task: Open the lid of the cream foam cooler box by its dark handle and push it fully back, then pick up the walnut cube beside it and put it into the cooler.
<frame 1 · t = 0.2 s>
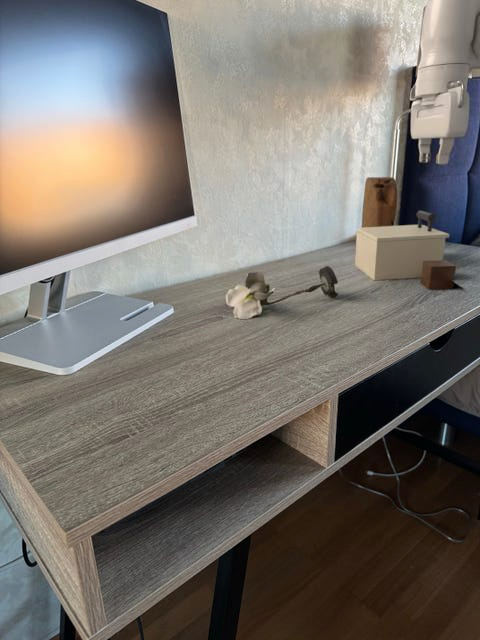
hand: (432, 163, 89), 25 cm above the table, tool pointing down, fingers open, 8 cm apart
artificial flower: (284, 307, 87), on the table
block: (376, 247, 133), on the table
cooler: (395, 270, 107), on the table
lid: (401, 223, 103), point 11 cm above the table, hinge at 0.0°
cube: (436, 286, 95), on the table
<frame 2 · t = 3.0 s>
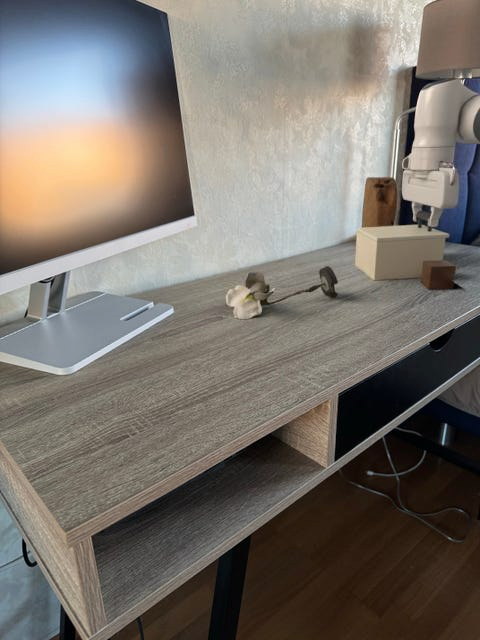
hand: (424, 223, 104), 11 cm above the table, tool pointing down, fingers closed on lid, 6 cm apart
lid: (401, 223, 103), point 11 cm above the table, hinge at 0.0°, touching gripper
everything else where it was.
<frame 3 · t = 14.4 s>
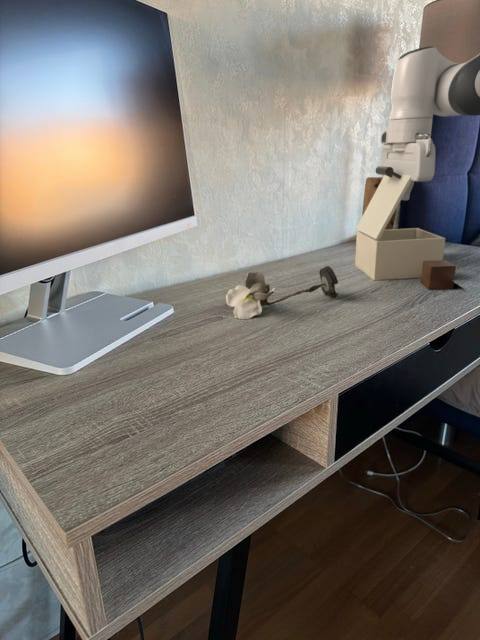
hand: (402, 199, 101), 17 cm above the table, tool pointing down, fingers closed
lid: (376, 197, 101), point 17 cm above the table, hinge at 63.2°
everything else where it was.
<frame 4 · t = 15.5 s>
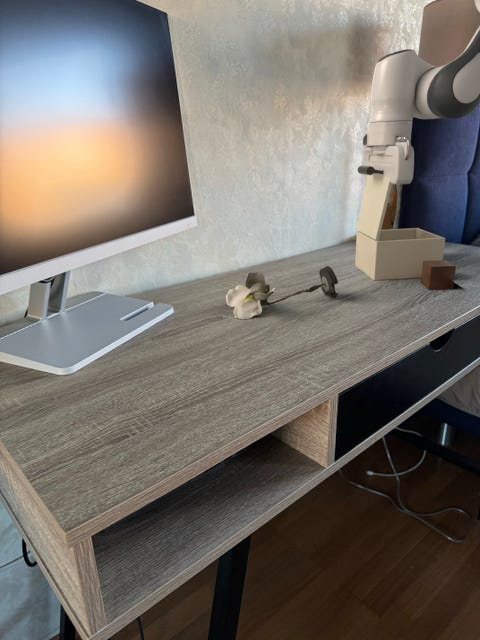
hand: (384, 202, 101), 16 cm above the table, tool pointing down, fingers closed, pressing on lid
lid: (366, 197, 101), point 18 cm above the table, hinge at 80.1°, touching gripper
everything else where it was.
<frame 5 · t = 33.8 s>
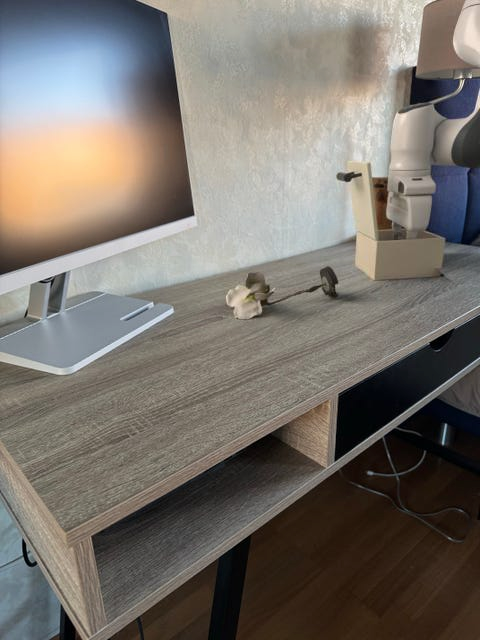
hand: (402, 243, 105), 7 cm above the table, tool pointing down, fingers open, 8 cm apart
lid: (353, 201, 101), point 17 cm above the table, hinge at 100.3°
cube: (400, 267, 107), point 1 cm above the table, touching cooler
everything else where it was.
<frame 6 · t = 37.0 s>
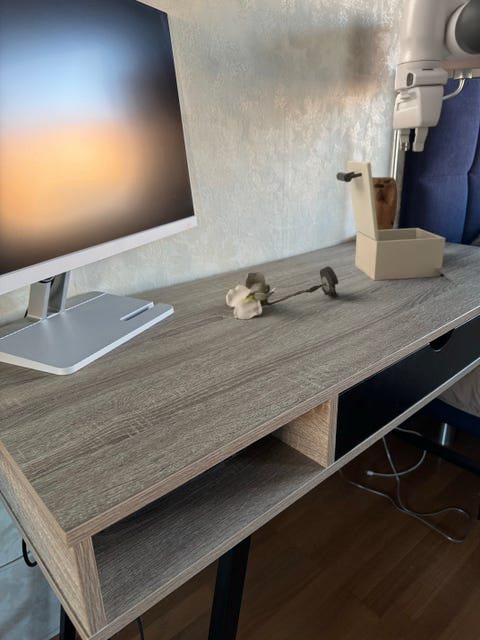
hand: (410, 151, 98), 27 cm above the table, tool pointing down, fingers open, 8 cm apart
nothing on the table moved.
at the end: lid at +100° (first picture: +0°); cube inside the target area in the cooler (1.1 cm from its centre), point 0.8 cm above the cooler's base; the gripper is holding nothing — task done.
